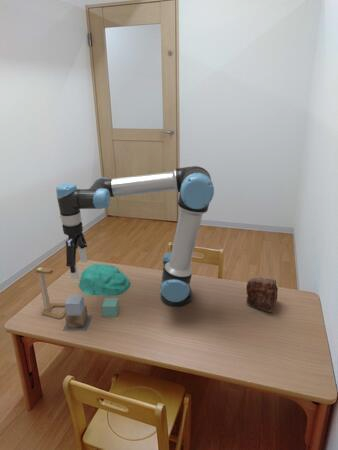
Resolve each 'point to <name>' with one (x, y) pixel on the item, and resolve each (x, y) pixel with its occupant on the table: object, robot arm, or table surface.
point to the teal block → (110, 307)
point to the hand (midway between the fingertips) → (79, 269)
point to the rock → (262, 293)
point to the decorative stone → (103, 280)
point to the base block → (77, 320)
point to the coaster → (79, 328)
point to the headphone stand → (47, 304)
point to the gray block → (74, 305)
